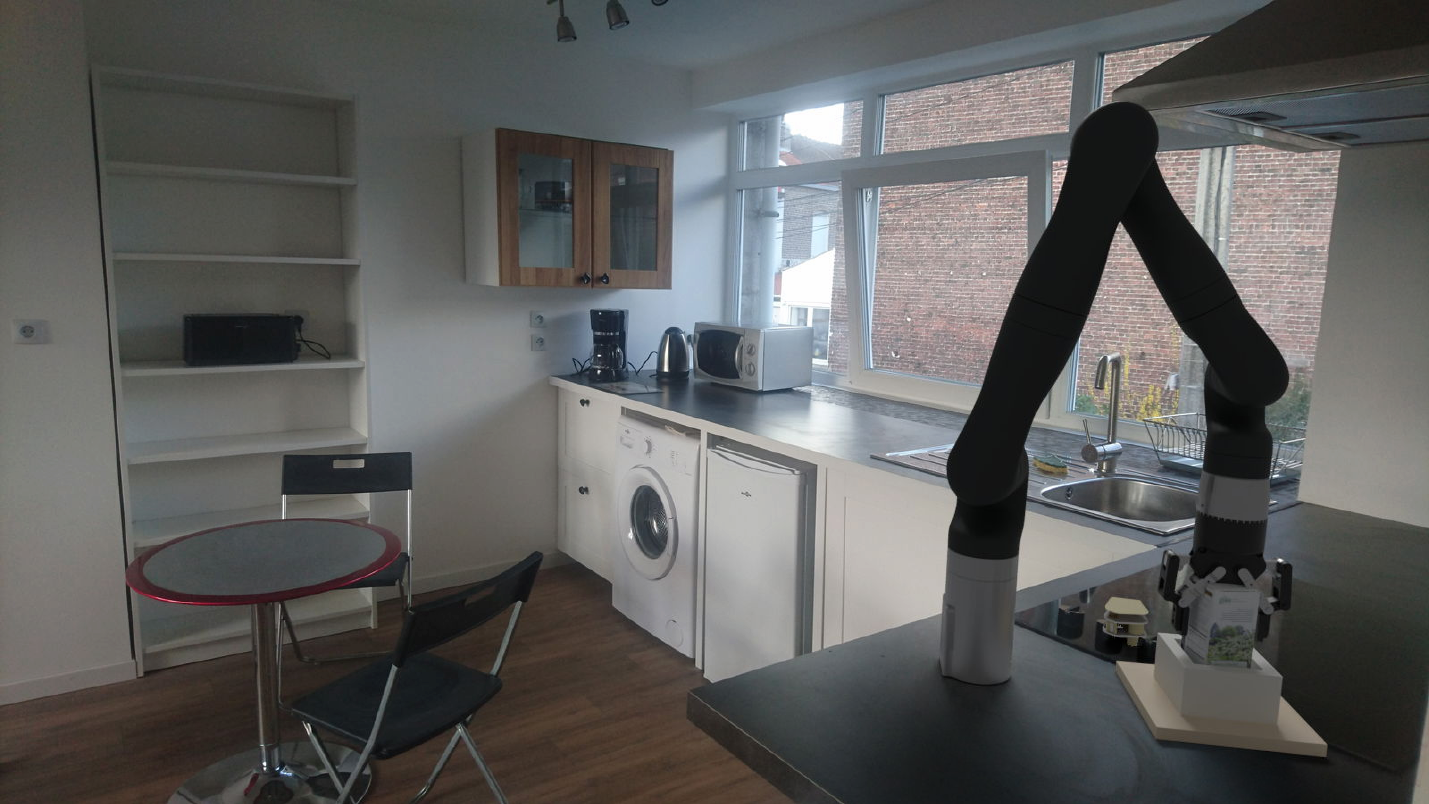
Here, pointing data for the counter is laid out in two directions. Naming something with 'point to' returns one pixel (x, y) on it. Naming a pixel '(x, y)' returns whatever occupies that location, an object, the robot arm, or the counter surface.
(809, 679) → the counter surface
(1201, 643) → the syrup box
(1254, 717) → the sleeve
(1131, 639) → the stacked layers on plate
